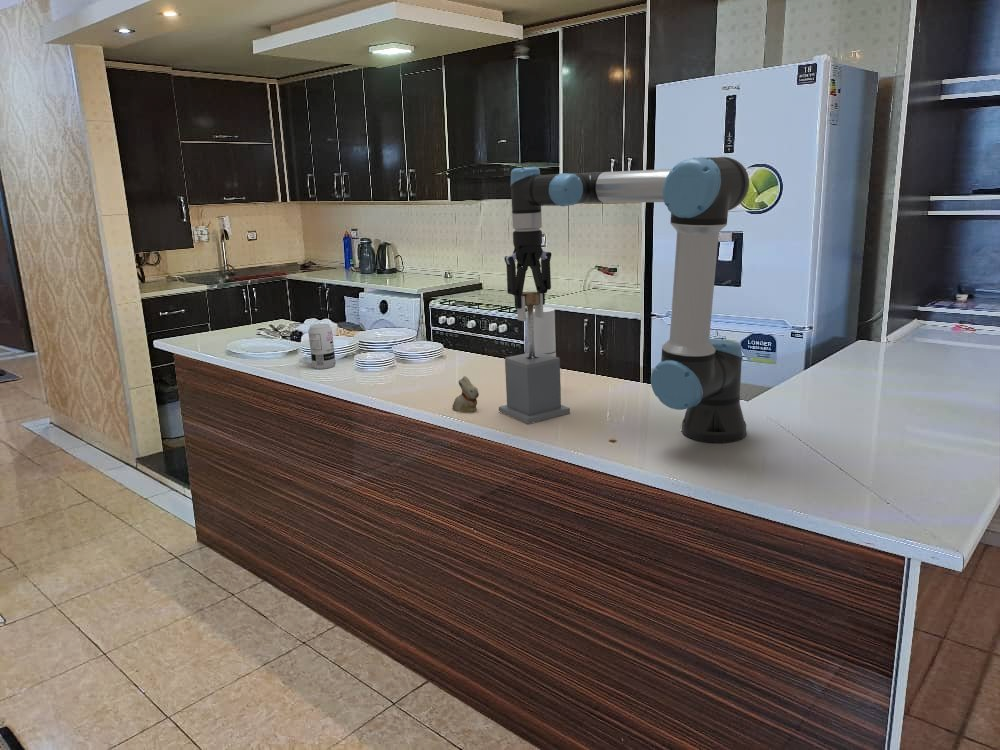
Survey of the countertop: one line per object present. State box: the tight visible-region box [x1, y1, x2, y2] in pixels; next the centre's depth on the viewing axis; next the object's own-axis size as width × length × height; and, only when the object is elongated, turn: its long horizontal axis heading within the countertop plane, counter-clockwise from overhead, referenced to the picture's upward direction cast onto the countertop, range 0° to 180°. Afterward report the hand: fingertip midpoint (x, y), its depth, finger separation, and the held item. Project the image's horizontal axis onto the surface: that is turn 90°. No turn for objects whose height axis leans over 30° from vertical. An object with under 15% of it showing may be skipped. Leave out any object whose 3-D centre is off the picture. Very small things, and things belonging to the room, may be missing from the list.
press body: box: [498, 351, 571, 425], centre depth 200 cm, size 14×14×16 cm
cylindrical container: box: [533, 307, 557, 357], centre depth 217 cm, size 7×7×25 cm
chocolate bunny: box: [452, 375, 480, 413], centre depth 206 cm, size 6×8×10 cm
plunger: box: [522, 291, 539, 360], centre depth 196 cm, size 8×8×20 cm
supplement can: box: [307, 323, 336, 370], centre depth 263 cm, size 8×8×15 cm
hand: (530, 318), depth 195 cm, fingers closed on plunger, 5 cm apart
